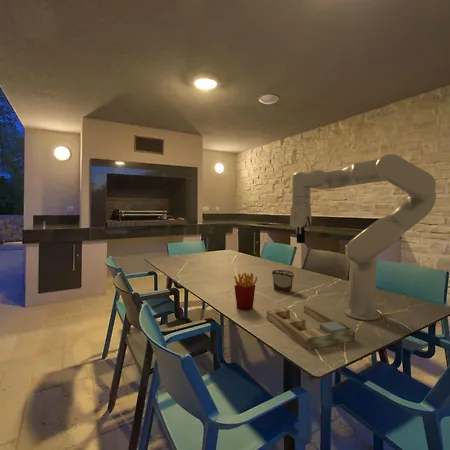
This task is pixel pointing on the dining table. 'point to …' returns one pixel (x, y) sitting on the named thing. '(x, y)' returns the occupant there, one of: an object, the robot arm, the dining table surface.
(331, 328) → the block
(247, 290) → the french fries
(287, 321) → the channel
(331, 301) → the dining table surface
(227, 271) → the dining table surface
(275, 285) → the food container
